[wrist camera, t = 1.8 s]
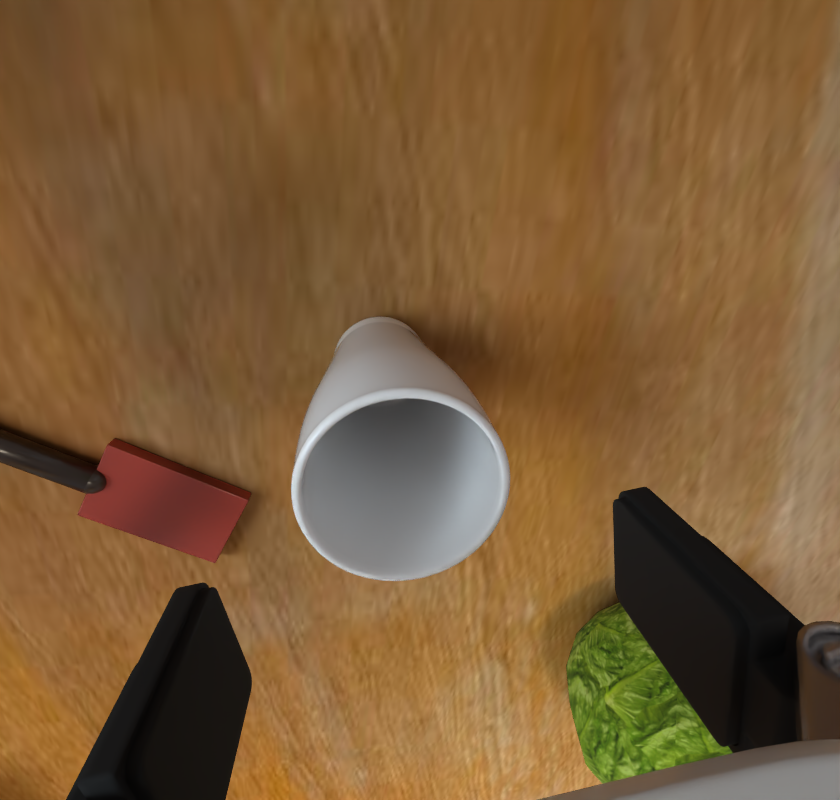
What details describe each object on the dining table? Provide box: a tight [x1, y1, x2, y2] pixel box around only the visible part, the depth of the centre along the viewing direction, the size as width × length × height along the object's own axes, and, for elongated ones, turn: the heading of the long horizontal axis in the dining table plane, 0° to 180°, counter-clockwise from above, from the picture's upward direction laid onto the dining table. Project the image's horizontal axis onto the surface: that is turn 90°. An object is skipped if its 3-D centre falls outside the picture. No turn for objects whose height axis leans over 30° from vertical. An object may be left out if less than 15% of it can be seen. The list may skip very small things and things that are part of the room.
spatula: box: [0, 429, 251, 563], centre depth 27 cm, size 20×5×2 cm, turn 59°
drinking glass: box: [291, 317, 510, 581], centre depth 21 cm, size 7×7×15 cm
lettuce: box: [566, 602, 733, 784], centre depth 36 cm, size 14×23×14 cm
